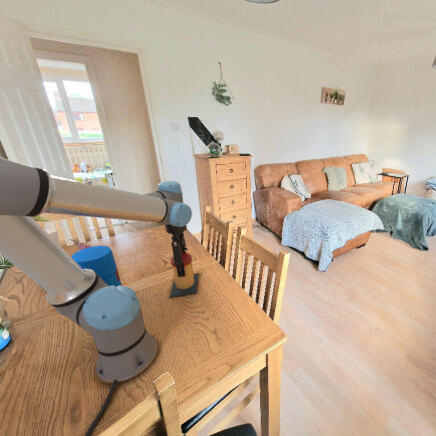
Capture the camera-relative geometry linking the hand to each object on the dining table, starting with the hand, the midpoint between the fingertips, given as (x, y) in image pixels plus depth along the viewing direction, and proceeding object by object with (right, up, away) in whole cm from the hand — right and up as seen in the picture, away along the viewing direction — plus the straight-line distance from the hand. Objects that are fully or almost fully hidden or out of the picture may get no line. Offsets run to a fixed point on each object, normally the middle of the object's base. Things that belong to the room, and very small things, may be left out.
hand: (183, 270), depth 101 cm
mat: (0, -7, +3) cm, 8 cm away
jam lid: (0, +5, -2) cm, 6 cm away
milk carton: (-65, -1, +11) cm, 66 cm away
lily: (-60, +3, +22) cm, 64 cm away
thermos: (-22, -13, -13) cm, 28 cm away
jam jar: (0, -7, +3) cm, 7 cm away
